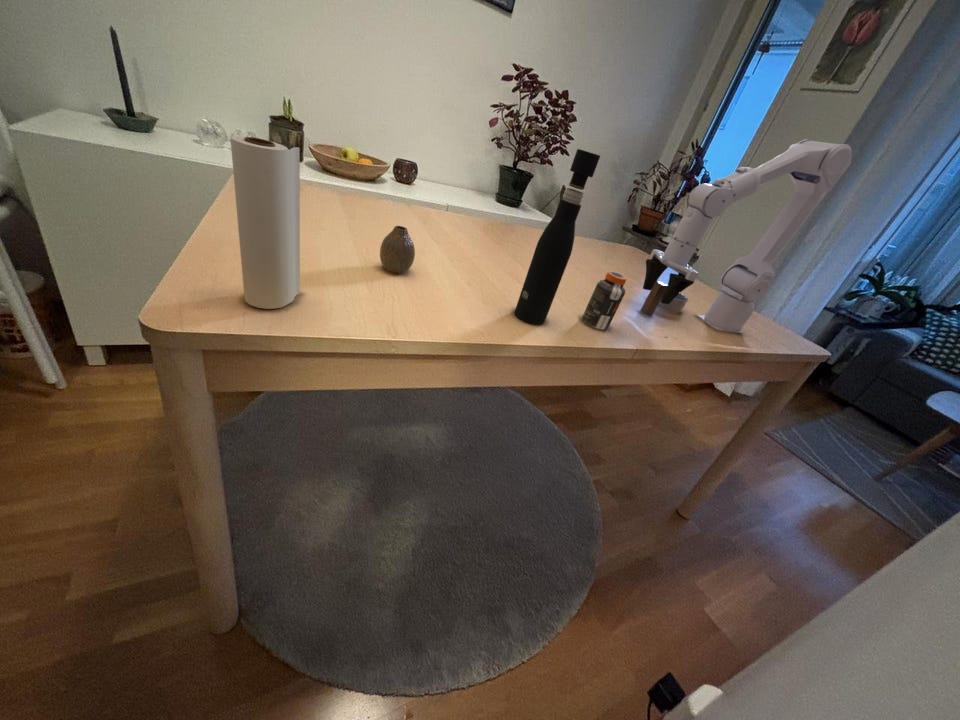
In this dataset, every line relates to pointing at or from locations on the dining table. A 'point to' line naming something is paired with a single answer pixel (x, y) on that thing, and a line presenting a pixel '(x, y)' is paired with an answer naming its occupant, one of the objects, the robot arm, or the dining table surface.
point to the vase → (397, 251)
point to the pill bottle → (605, 301)
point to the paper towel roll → (268, 219)
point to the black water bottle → (555, 246)
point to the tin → (675, 304)
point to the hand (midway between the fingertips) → (655, 296)
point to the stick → (654, 298)
